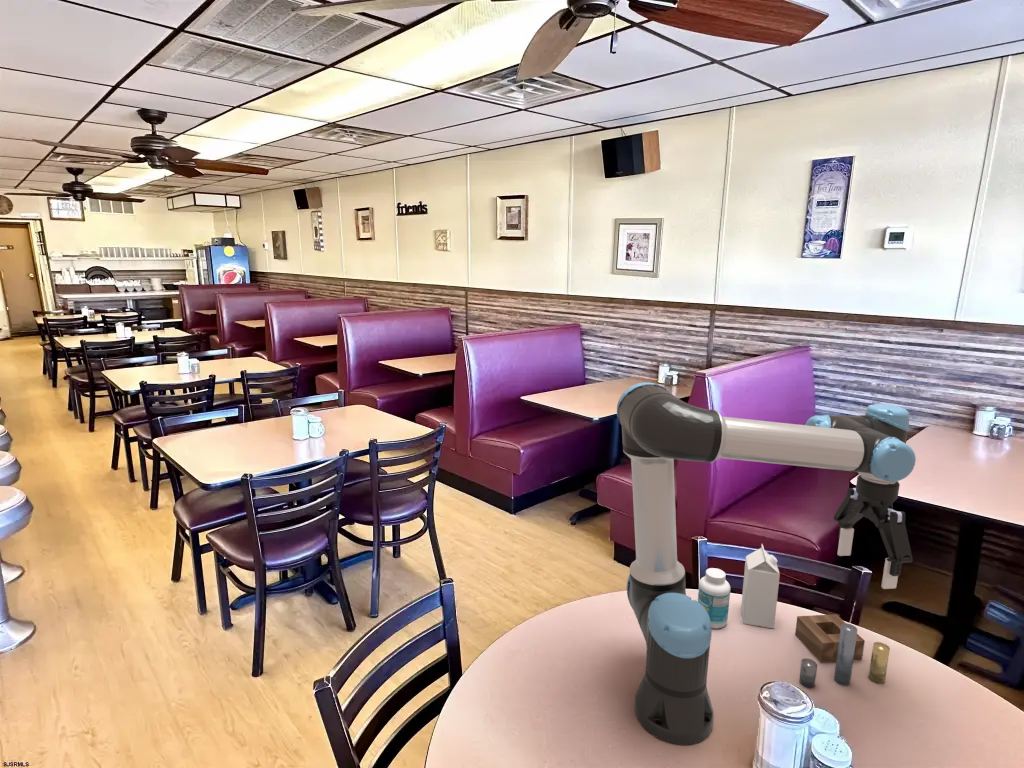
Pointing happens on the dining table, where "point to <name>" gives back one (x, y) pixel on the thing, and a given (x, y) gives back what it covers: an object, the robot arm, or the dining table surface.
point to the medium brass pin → (879, 662)
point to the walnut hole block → (824, 636)
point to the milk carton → (760, 589)
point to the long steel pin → (845, 654)
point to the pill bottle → (715, 596)
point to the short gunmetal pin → (808, 673)
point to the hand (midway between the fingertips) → (865, 570)
